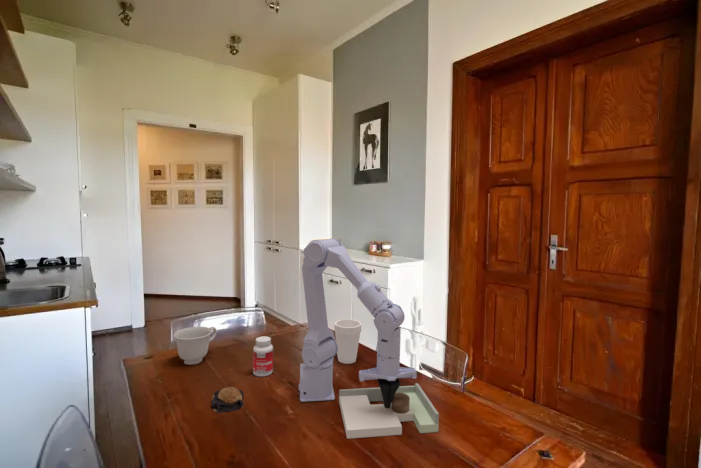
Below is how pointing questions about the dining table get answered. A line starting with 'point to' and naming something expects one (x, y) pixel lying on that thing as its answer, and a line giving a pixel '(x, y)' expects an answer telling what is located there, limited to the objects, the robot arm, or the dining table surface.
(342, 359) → the foam cup
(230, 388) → the tan black low dome
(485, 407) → the dining table surface
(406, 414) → the box
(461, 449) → the dining table surface
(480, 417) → the dining table surface
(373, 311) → the robot arm
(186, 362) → the teacup
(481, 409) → the dining table surface
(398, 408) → the brown wooden cylinder
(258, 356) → the pill bottle
